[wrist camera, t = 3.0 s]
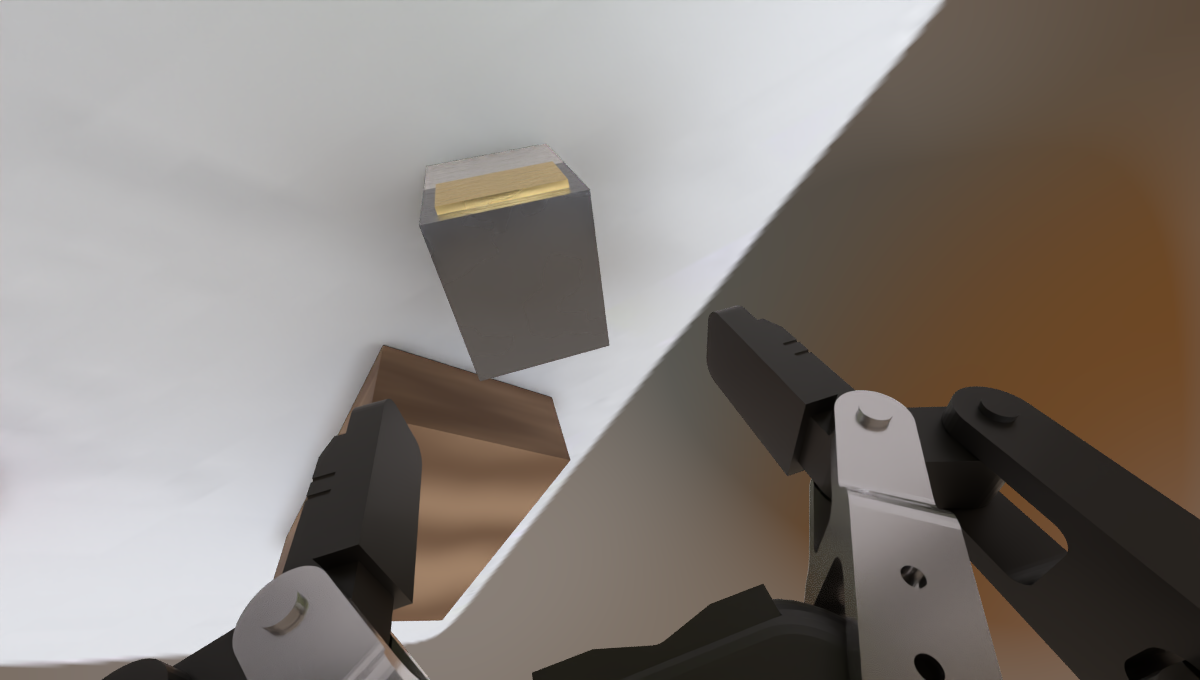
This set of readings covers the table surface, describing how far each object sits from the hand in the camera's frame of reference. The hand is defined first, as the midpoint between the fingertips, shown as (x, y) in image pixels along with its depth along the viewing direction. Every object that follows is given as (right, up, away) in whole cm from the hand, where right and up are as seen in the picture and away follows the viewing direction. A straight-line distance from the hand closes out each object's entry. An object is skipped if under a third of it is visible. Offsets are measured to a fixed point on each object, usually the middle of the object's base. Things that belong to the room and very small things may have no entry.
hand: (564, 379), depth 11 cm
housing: (-3, +6, +9) cm, 11 cm away
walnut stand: (-10, -7, +16) cm, 20 cm away
